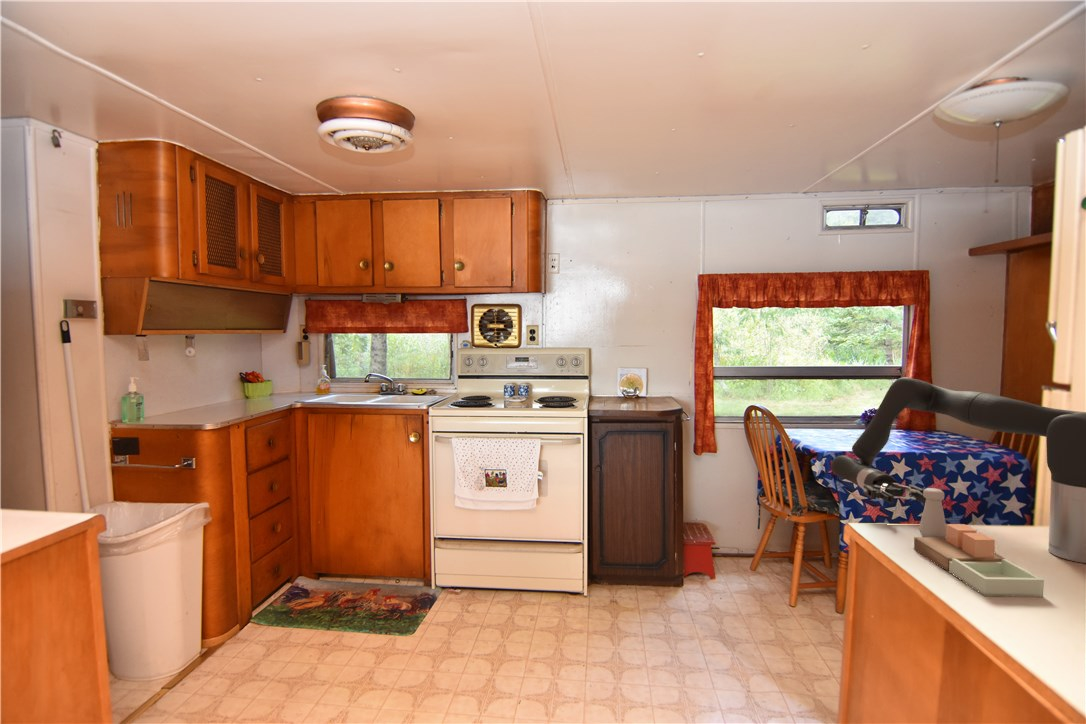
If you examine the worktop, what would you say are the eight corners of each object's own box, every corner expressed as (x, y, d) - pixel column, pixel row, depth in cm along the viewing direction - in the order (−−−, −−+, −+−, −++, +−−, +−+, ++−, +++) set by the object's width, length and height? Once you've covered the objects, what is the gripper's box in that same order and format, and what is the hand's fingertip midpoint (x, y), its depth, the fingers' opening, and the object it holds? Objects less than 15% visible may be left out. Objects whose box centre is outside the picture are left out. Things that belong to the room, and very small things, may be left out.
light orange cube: (963, 540, 128) (964, 524, 128) (976, 547, 124) (976, 530, 124) (946, 540, 128) (946, 524, 128) (957, 547, 124) (958, 530, 124)
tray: (1002, 573, 118) (1002, 557, 118) (1043, 597, 107) (1043, 579, 107) (949, 572, 119) (949, 556, 118) (984, 596, 108) (985, 579, 108)
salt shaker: (938, 535, 139) (939, 486, 138) (952, 544, 133) (954, 492, 132) (913, 535, 140) (914, 485, 139) (927, 544, 134) (928, 492, 133)
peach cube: (980, 550, 123) (981, 532, 122) (994, 557, 119) (994, 539, 118) (962, 550, 123) (962, 532, 123) (975, 557, 119) (975, 539, 119)
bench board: (966, 549, 130) (966, 537, 130) (1005, 572, 118) (1005, 558, 118) (914, 549, 131) (914, 537, 131) (947, 571, 119) (947, 558, 119)
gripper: (851, 470, 163) (881, 486, 146) (901, 470, 162) (936, 486, 145) (851, 495, 163) (881, 513, 147) (900, 495, 162) (936, 513, 146)
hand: (908, 499), depth 146 cm, fingers open, 8 cm apart
